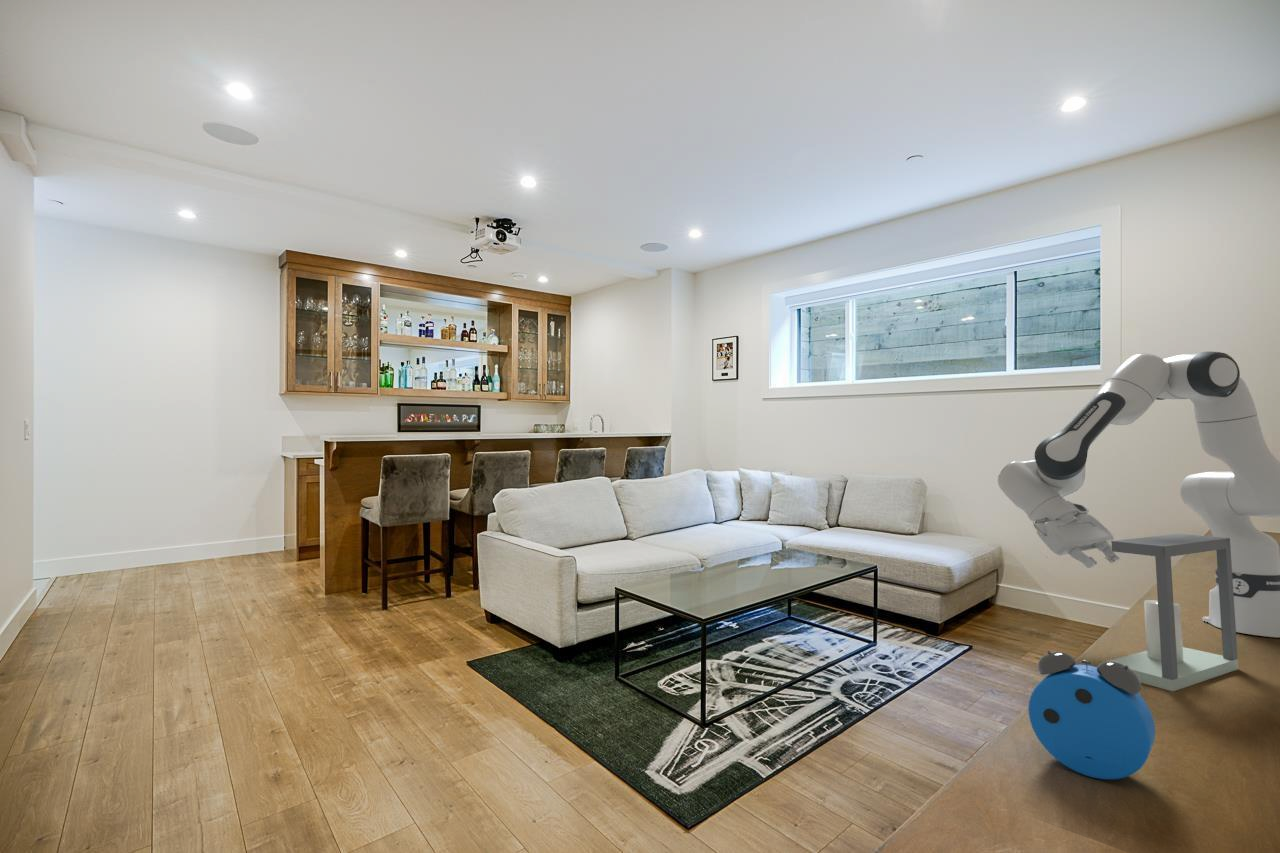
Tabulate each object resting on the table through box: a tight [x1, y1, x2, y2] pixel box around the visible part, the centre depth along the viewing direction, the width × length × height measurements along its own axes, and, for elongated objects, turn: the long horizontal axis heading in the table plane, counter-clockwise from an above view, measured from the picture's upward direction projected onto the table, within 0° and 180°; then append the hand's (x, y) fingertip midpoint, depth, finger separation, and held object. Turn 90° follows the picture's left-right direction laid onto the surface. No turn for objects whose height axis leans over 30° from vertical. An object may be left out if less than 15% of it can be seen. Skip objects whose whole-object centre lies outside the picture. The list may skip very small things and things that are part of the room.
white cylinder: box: [1143, 599, 1184, 663], centre depth 120 cm, size 6×6×11 cm
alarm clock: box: [1028, 650, 1156, 780], centre depth 81 cm, size 13×6×15 cm, turn 44°
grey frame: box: [1108, 533, 1239, 692], centre depth 119 cm, size 26×11×26 cm, turn 116°
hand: (1104, 563), depth 135 cm, fingers open, 8 cm apart
